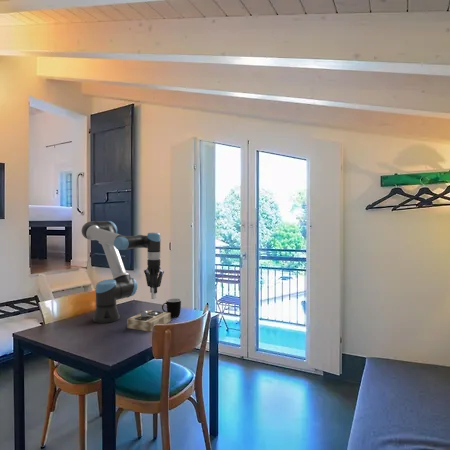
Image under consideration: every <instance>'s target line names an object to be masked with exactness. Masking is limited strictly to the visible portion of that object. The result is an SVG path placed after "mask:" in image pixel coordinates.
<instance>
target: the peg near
mask: <svg viewBox="0 0 450 450" xmlns="http://www.w3.org/2000/svg"><path fill="white" fill-rule="evenodd" d="M140 313H141V319H147V318H148V317H147V310H141V311H140Z"/></svg>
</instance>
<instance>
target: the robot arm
mask: <svg viewBox="0 0 450 450" xmlns="http://www.w3.org/2000/svg"><path fill="white" fill-rule="evenodd" d="M81 234H82V237H84V238H85V239H87V240H89V241H97V242H98V244H100V245H101V246H102V249H103V251H104V254H105V257H106V260H107V264H108V266H109V270H110V272H111V275H112V279H111V278H110V279H104V280H100V281H99V282H97V283H96V285H95V310H94V314H93V316H92V321H93V322H94V323H97V324H98V323H99V324H105V323H106V324H107V323H112V322H116V321H119V320H120V313H119V310H118V307H117V300H123V299H125V298H130V297H133V296H134V295H135V294H136V293H137V290H138V282H137V280H136V279H135V278H134V277H131V275H130V273H128V272H127V271H126V268H125V265H124V262H123V260H122V257H121V254H120V251H125V250H126V251H127V250H130V249H131V250H132V249H133V250H134V249H147V259H146V260H147V262H146V263H147V264H146V265H147V267H146V269H144V270H143V274H145V282H146V285H147V287H149V288H150V289H149V290H150V291H149V292H150V293H151V294H150V295H151V298H150V299H151V300H155V299H157V293H158V288H159V287H160V286H161V285H162V279H163V275H164V273H165V271H164V270H162V269H161V240H162V239H161V234H160V233H159V232H148V233H147V234H146V235H145V234H136V235H124V234H123V235H122V234H119V233H118V227H117V225H116V224H115V223H114V222H113V221H111V220H99V221H98V220H92V221H87V222H86V223H84V224H83V225H82V228H81Z"/></svg>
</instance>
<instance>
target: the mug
mask: <svg viewBox="0 0 450 450" xmlns="http://www.w3.org/2000/svg"><path fill="white" fill-rule="evenodd" d="M165 305H166V310H164V306H165ZM181 306H182V300H181V299H180V298H168V299H167V300H166V301H165V302H164V303H163V304H162V305H161V310H162V312H168V313H171V318H172V319H173V318H178V317H179V316H180V313H181Z"/></svg>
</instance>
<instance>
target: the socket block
mask: <svg viewBox="0 0 450 450" xmlns="http://www.w3.org/2000/svg"><path fill="white" fill-rule="evenodd" d="M146 311H147V317H148V318H147V319H141V312H140V313H138V314H136V315H133V316H131V317H129V318H127V319H126V328H127V329H131V330H138V331H145V332H150V333H151V332H153V331H152V328H153V326H154V325H157V324H164V325H166V324H169V323H170V322H171V320H172V319H171V313H168V312H167V311H166V312H164V311H158V310H153V309H152V310H150V309H148V310H146ZM152 312H157V313H158V314H156V315H154V314H151V313H152Z"/></svg>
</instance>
